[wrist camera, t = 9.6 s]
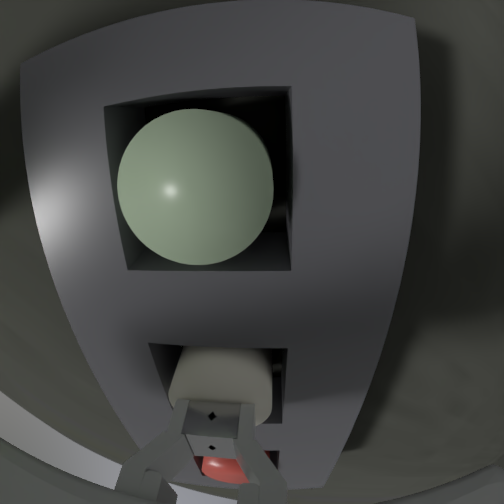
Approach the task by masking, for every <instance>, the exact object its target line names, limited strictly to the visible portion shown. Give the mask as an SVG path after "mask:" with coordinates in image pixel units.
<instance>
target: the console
mask: <svg viewBox="0 0 504 504" xmlns="http://www.w3.org/2000/svg"><path fill="white" fill-rule="evenodd" d="M249 96H285V120H286V232H260V234H259V235H258V237H257V238H256V239H255V240H254V241H253V242H252V243H251V244H250V245H249V246H248V247H247V248H246V249H244V250H243V251H242V252H240V253H239V254H237V255H235V256H234V257H231V258H229V259H227V260H224V261H221V262H218V263H213V264H208V265H188V264H183V263H178V262H175V261H172V260H169V259H167V258H164V257H162V256H160V255H159V254H157V253H155V252H154V251H152V250H151V249H150V248H148V247H147V246H146V245H145V244H144V243H142V242H141V241H140V240H139V239H138V237H137V236H136V235H135V234H134V233H133V231H132V230H131V228H130V227H129V225H128V223H127V221H126V219H125V217H124V215H123V213H122V210H121V207H120V203H119V198H118V190H117V179H118V171H119V166H120V163H121V159H122V157H123V154H124V152H125V150H126V148H127V146H128V145H129V143H130V142H131V140H132V139H133V138H134V136H135V135H136V134H137V133H138V132H139V131H140V130H141V129H142V128H143V127H144V126H145V125H146V122H145V107H149V106H156V105H162V104H169V103H177V102H185V101H194V100H204V99H215V98H229V97H249ZM20 107H21V126H22V138H23V148H24V156H25V164H26V171H27V177H28V183H29V189H30V194H31V199H32V204H33V209H34V214H35V218H36V222H37V226H38V230H39V234H40V238H41V242H42V245H43V249H44V252H45V256H46V259H47V262H48V266H49V269H50V272H51V275H52V278H53V281H54V284H55V287H56V289H57V292H58V295H59V298H60V300H61V303H62V305H63V308H64V311H65V313H66V316H67V318H68V320H69V323H70V325H71V327H72V330H73V332H74V334H75V337H76V339H77V341H78V343H79V345H80V348H81V350H82V352H83V354H84V356H85V358H86V360H87V362H88V364H89V366H90V368H91V370H92V372H93V374H94V376H95V377H96V379H97V381H98V383H99V385H100V387H101V388H102V390H103V392H104V394H105V396H106V397H107V399H108V401H109V402H110V404H111V406H112V407H113V409H114V411H115V412H116V414H117V416H118V417H119V419H120V420H121V422H122V423H123V425H124V427H125V428H126V430H127V431H128V433H129V434H130V436H131V437H132V438H133V440H134V441H135V443H136V444H137V446H138V447H139V448H140V450H141V449H142V448H144V447H145V446H146V445H147V444H149V443H150V442H151V441H152V440H154V439H155V438H156V437H157V436H159V435H160V434H161V433H162V432H167V430H168V426H169V423H170V419H171V416H172V413H173V409H174V408H173V406H172V405H171V403H170V401H169V396H168V393H169V389H170V385H171V382H172V379H173V376H174V373H175V370H176V367H177V364H178V361H179V358H180V355H181V352H182V350H181V346H180V345H183V346H200V347H223V348H283V354H282V374H281V377H272V411H271V414H270V415H269V417H268V418H267V419H266V420H265V421H264V422H263V423H261V424H259V425H257V426H256V432H255V440H257V442H258V443H259V445H260V446H261V448H262V449H263V450H268V451H270V460H271V462H272V463H273V464H274V466H275V467H276V469H277V470H278V471H279V473H280V474H281V475H282V477H283V478H284V479H285V481H286V482H287V489H308V488H321V487H323V486H324V484H325V483H326V481H327V479H328V477H329V475H330V473H331V472H332V470H333V468H334V466H335V464H336V462H337V460H338V458H339V456H340V454H341V452H342V450H343V448H344V446H345V443H346V441H347V439H348V437H349V435H350V433H351V430H352V428H353V426H354V424H355V421H356V419H357V417H358V414H359V412H360V409H361V407H362V404H363V402H364V399H365V397H366V394H367V392H368V389H369V386H370V384H371V381H372V378H373V375H374V373H375V370H376V367H377V364H378V361H379V358H380V355H381V352H382V349H383V346H384V342H385V339H386V336H387V332H388V329H389V326H390V322H391V318H392V315H393V311H394V307H395V303H396V299H397V295H398V291H399V287H400V283H401V278H402V274H403V269H404V264H405V259H406V254H407V249H408V243H409V238H410V232H411V225H412V219H413V212H414V204H415V196H416V187H417V177H418V165H419V151H420V127H421V90H420V67H419V53H418V42H417V33H416V25H415V18H412V17H408V16H404V15H400V14H396V13H392V12H387V11H383V10H378V9H372V8H367V7H361V6H355V5H348V4H340V3H332V2H322V1H309V0H241V1H227V2H217V3H208V4H201V5H194V6H187V7H181V8H176V9H171V10H166V11H161V12H156V13H152V14H148V15H144V16H140V17H136V18H132V19H129V20H125V21H122V22H119V23H115V24H112V25H109V26H106V27H103V28H100V29H97V30H94V31H92V32H89V33H86V34H84V35H81V36H78V37H76V38H73V39H71V40H69V41H66V42H64V43H62V44H59V45H57V46H55V47H53V48H51V49H48V50H46V51H44V52H42V53H40V54H38V55H36V56H34V57H32V58H30V59H29V60H27V61H25V62H23V63H21V69H20ZM203 458H204V456H195V455H194V457H193V458H192V459H191V460H190V461H189V462H188V464H187V465H186V466H185V467H184V468H183V469H182V470H181V471H180V472H179V473H178V474H177V475H176V476H175V477H174V478H173V479H172V480H171V481H175V482H181V483H187V484H194V485H202V486H210V487H221V488H234V489H239V485H241V484H234V483H227V482H222V481H218V480H215V479H212V478H210V477H208V476H207V475H205V474H204V473H203V472H202V464H203Z"/></svg>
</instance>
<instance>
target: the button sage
mask: <svg viewBox="0 0 504 504" xmlns="http://www.w3.org/2000/svg"><path fill="white" fill-rule="evenodd" d="M117 190H118V198H119V203H120V207H121V210H122V213H123V215H124V217H125V219H126V221H127V223H128V225H129V227H130V228H131V230H132V231H133V233H134V234H135V235H136V236H137V237H138V239H139V240H140V241H141V242H142V243H144V244H145V245H146V246H147V247H148V248H150V249H151V250H152V251H154V252H155V253H157V254H159V255H160V256H162V257H164V258H167V259H169V260H172V261H175V262H178V263H183V264H188V265H208V264H213V263H218V262H221V261H224V260H227V259H229V258H231V257H234V256H235V255H237V254H239V253H240V252H242V251H243V250H244V249H246V248H247V247H248V246H249V245H250V244H251V243H252V242H253V241H254V240H255V239H256V238H257V237H258V235H259V234H260V232H261V231H262V230H263V228H264V226H265V224H266V222H267V220H268V217H269V214H270V211H271V207H272V202H273V191H274V187H273V174H272V162H271V157H270V153H269V150H268V147H267V145H266V143H265V141H264V140H263V138H262V137H261V135H260V134H259V133H258V132H257V131H256V130H255V128H254V127H252V126H251V125H250V124H249V123H247V122H246V121H244V120H242V119H241V118H239V117H236V116H234V115H231V114H227V113H222V112H216V111H210V110H202V109H183V110H178V111H173V112H170V113H167V114H164V115H162V116H160V117H158V118H156V119H154V120H153V121H151V122H150V123H148V124H147V125H145V126H144V127H143V128H142V129H141V130H140V131H139V132H138V133H137V134H136V135H135V136H134V138H133V139H132V140H131V142H130V143H129V145H128V146H127V148H126V150H125V152H124V154H123V157H122V159H121V163H120V166H119V171H118V179H117Z"/></svg>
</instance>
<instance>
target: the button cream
mask: <svg viewBox="0 0 504 504" xmlns="http://www.w3.org/2000/svg"><path fill="white" fill-rule="evenodd" d="M168 396H169V401H170V403H171V405H172V406H173V408H174V406H175V402H176V401H177V399H186V400H194V401H204V402H221V403H241V404H255V418H256V426H257V425H259V424H261V423H263V422H264V421H265V420H266V419H267V418H268V417H269V415H270V414H271V411H272V348H223V347H200V346H183V349H182V352H181V355H180V358H179V361H178V364H177V367H176V370H175V373H174V376H173V379H172V382H171V385H170V389H169V393H168Z"/></svg>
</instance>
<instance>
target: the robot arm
mask: <svg viewBox="0 0 504 504" xmlns="http://www.w3.org/2000/svg"><path fill="white" fill-rule="evenodd" d="M255 432H256V418H255V404H241V403H221V402H204V401H194V400H186V399H177V401H176V402H175V406H174V409H173V413H172V416H171V419H170V423H169V426H168V430H167V432H162V433H161V434H160V435H159V436H157V437H156V438H155V439H154V440H152V441H151V442H150V443H149V444H147V445H146V446H145V447H144V448H142V449H141V450H140V451H138V452H137V453H136V454H135V455H133V456H132V457H131V458H129V459H128V460H127V461H125V462H124V463H123V465H122V468H121V471H120V474H119V477H118V480H117V483H116V486H115V490H113V489H110V488H107V487H104V486H100V485H98V484H95V483H92V482H90V481H87V480H84V479H82V478H79V477H77V476H74V475H72V474H69V473H67V472H65V471H63V470H60V469H58V468H55V467H53V466H51V465H49V464H47V463H45V462H43V461H41V460H39V459H37V458H35V457H33V456H32V455H30V454H28V453H26V452H24V451H22V450H20V449H19V448H17V447H15V446H13V445H12V444H10V443H9V442H7V441H5V440H4V439H2V438H0V504H176V500H177V494H176V492H175V491H174V490H173V489H172V488H171V486H170V485H169V484H168V483H169V482H170V481H171V480H172V479H173V478H174V477H175V476H176V475H177V474H178V473H179V472H180V471H181V470H182V469H183V468H184V467H185V466H186V465H187V464H188V462H189V461H190V460H191V459H192V458H193V457H194V455H195V456H206V457H218V458H228V459H236V460H237V462H238V464H239V465H240V467H241V469H242V471H243V472H244V474H245V476H246V477H247V479H248V481H249V482H250V483H242V484H241V485H239V492H238V501H237V504H287V482H286V481H285V479H284V478H283V477H282V475H281V474H280V473H279V471H278V470H277V469H276V467H275V466H274V464H273V463H272V462H271V460H270V459H269V457H268V456H267V455H266V453H265V452H264V450H263V449H262V448H261V446H260V445H259V443H258V442H257V440H255ZM375 504H504V469H503V468H501V467H499V466H497V465H494V464H493V465H488V466H486V467H484V468H482V469H479V470H477V471H475V472H473V473H470V474H468V475H466V476H463V477H461V478H458V479H456V480H453V481H451V482H448V483H445V484H443V485H440V486H437V487H434V488H431V489H428V490H425V491H422V492H418V493H415V494H412V495H408V496H404V497H401V498H397V499H393V500H389V501H384V502H380V503H375Z"/></svg>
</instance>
